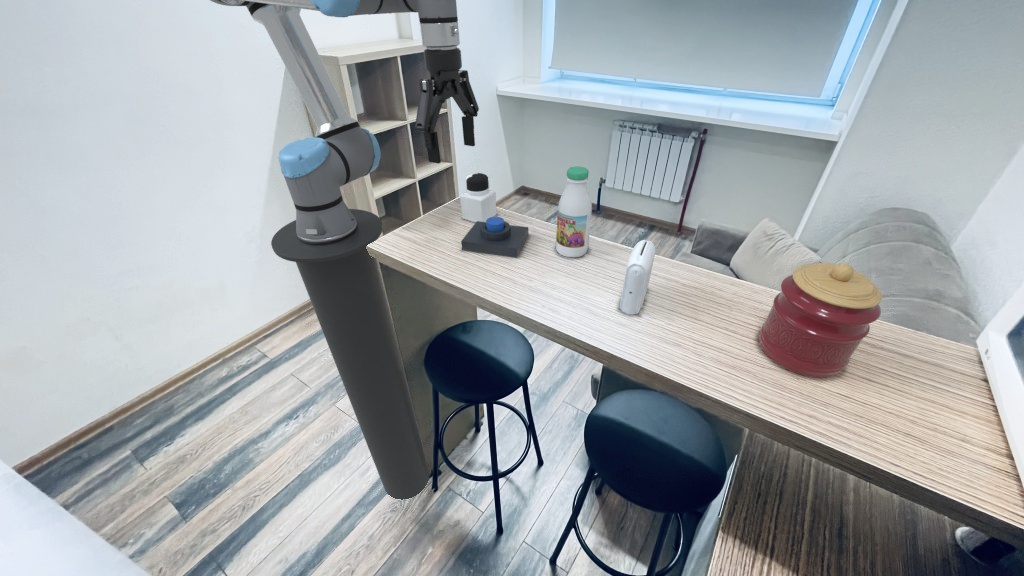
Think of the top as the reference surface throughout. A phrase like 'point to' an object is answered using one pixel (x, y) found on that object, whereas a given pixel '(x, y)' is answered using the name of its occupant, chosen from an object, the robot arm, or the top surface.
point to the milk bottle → (574, 215)
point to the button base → (495, 239)
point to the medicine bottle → (478, 199)
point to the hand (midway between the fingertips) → (453, 153)
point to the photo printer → (637, 277)
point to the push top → (495, 224)
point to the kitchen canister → (820, 318)
